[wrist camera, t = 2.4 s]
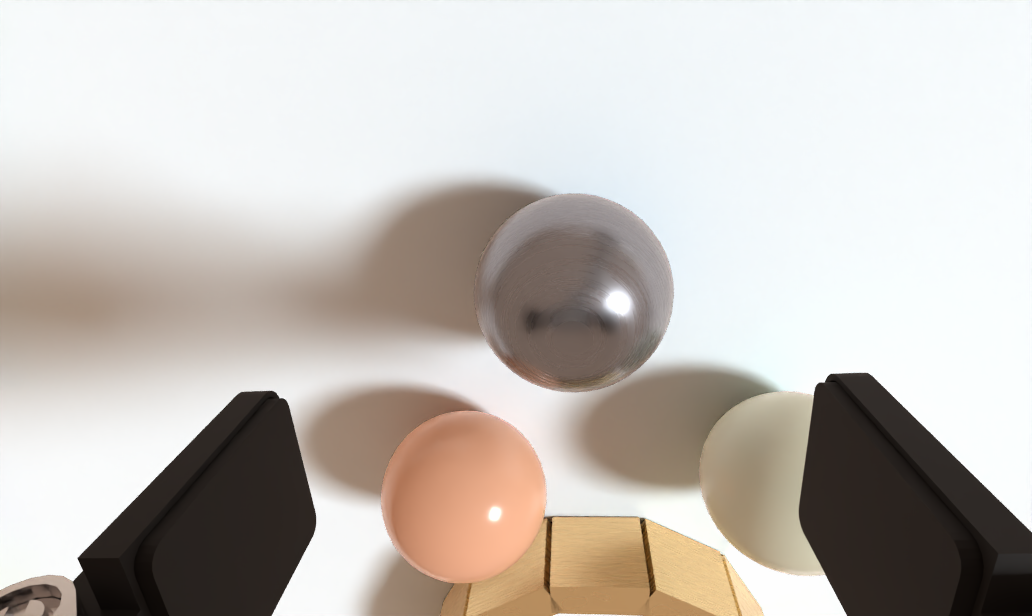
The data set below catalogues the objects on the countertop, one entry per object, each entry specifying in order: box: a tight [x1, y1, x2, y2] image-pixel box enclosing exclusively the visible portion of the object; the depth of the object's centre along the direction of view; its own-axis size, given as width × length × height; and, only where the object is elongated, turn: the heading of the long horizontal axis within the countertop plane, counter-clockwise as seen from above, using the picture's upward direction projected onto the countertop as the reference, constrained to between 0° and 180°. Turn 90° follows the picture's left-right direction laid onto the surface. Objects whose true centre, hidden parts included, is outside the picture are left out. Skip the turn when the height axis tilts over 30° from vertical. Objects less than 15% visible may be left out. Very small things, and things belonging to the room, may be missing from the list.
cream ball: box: [699, 391, 825, 576], centre depth 17 cm, size 5×5×5 cm
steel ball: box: [474, 194, 674, 392], centre depth 15 cm, size 5×5×5 cm
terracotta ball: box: [381, 411, 547, 583], centre depth 18 cm, size 5×5×5 cm
